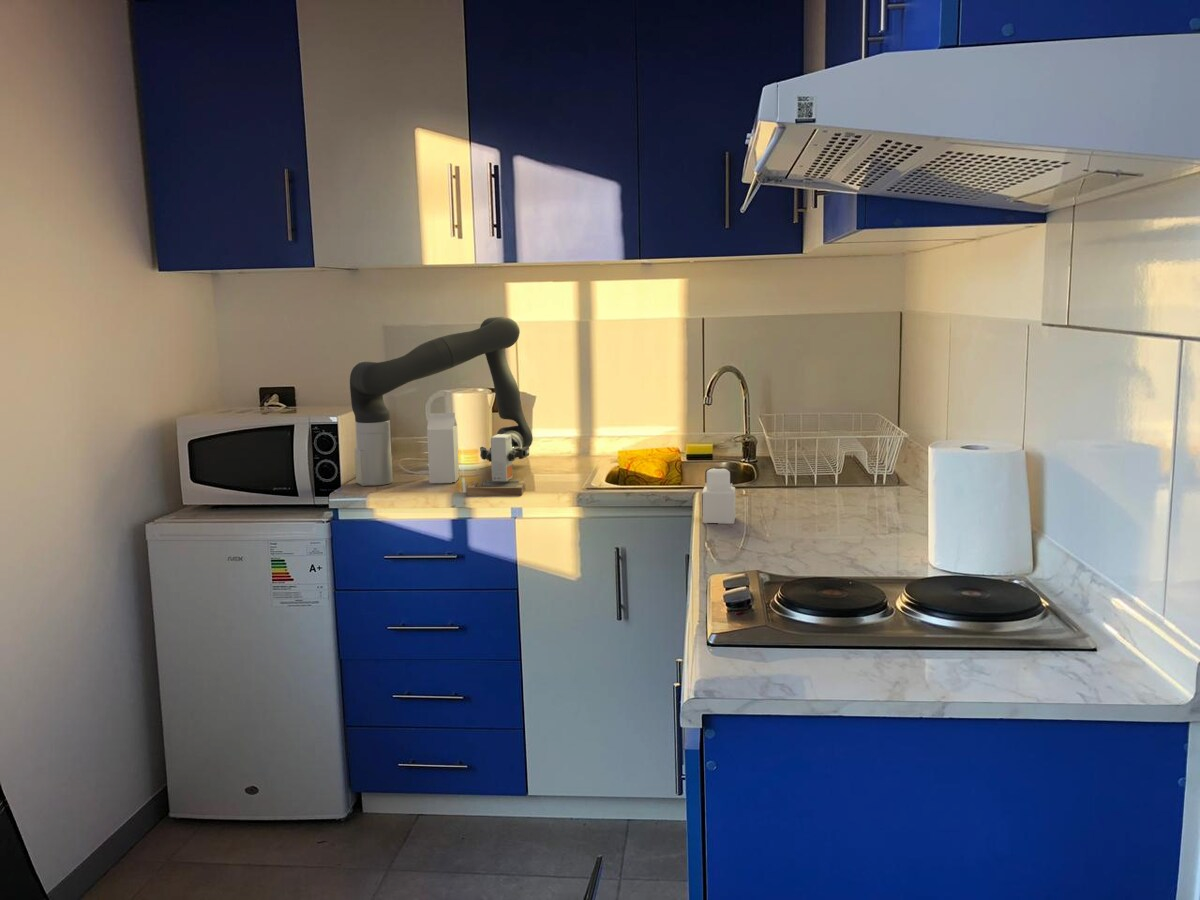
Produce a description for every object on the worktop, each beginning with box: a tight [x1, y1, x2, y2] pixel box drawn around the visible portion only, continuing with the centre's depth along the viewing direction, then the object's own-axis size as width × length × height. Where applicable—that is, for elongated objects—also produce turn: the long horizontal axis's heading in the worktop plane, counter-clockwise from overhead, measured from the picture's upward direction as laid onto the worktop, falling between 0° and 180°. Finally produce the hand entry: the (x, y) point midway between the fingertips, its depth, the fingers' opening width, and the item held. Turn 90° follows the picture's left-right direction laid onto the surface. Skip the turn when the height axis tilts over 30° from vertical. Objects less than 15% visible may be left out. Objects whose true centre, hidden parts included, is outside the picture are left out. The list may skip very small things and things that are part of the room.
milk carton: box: [426, 412, 460, 484], centre depth 288 cm, size 7×7×19 cm
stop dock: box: [466, 480, 526, 497], centre depth 278 cm, size 18×14×2 cm
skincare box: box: [490, 433, 513, 481], centre depth 282 cm, size 6×4×12 cm
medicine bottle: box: [701, 466, 736, 525], centre depth 235 cm, size 7×7×12 cm
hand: (500, 457), depth 280 cm, fingers closed on skincare box, 5 cm apart
